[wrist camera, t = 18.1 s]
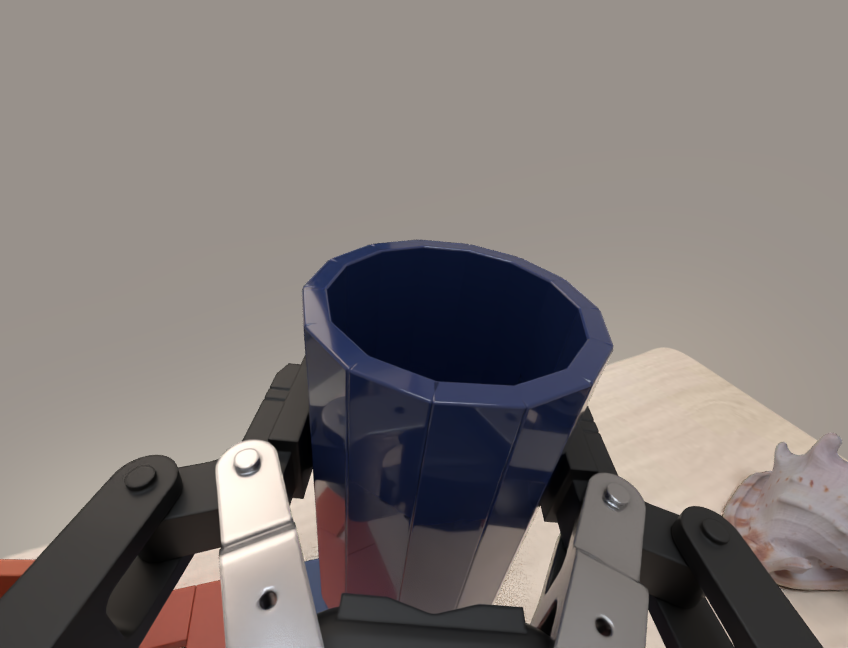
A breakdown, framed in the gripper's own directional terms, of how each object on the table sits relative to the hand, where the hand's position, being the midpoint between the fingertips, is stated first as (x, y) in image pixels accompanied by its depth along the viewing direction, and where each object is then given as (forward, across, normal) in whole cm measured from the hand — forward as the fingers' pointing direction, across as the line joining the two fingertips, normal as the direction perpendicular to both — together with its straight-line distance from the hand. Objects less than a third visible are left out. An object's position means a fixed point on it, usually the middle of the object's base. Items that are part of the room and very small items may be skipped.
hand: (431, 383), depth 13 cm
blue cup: (-2, 0, +6) cm, 7 cm away
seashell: (+6, -29, +17) cm, 34 cm away
